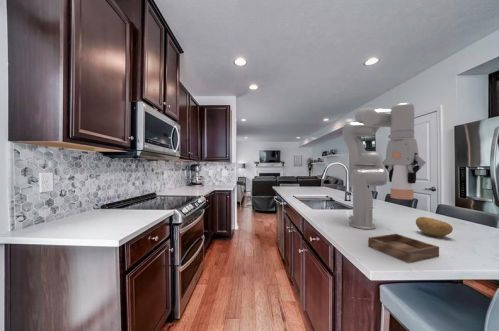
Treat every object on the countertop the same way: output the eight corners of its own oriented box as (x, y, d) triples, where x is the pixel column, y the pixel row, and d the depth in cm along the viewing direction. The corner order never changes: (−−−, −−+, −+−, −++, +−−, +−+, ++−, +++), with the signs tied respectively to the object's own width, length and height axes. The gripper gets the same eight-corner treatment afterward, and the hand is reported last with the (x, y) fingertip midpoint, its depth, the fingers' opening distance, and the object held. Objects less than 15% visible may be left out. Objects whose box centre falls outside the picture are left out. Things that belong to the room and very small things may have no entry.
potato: (444, 241, 93) (445, 223, 93) (410, 232, 107) (410, 216, 107) (458, 239, 97) (458, 221, 97) (423, 230, 110) (423, 214, 110)
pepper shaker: (417, 199, 79) (418, 147, 79) (395, 199, 80) (395, 148, 80) (407, 197, 86) (407, 149, 86) (387, 196, 87) (387, 149, 87)
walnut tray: (368, 246, 88) (368, 237, 88) (396, 241, 93) (396, 233, 93) (408, 262, 73) (408, 252, 73) (439, 256, 78) (439, 246, 78)
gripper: (374, 138, 90) (374, 181, 90) (419, 132, 74) (419, 184, 74) (387, 139, 92) (387, 180, 93) (434, 133, 76) (433, 184, 76)
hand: (401, 182), depth 83 cm, fingers closed on pepper shaker, 6 cm apart
